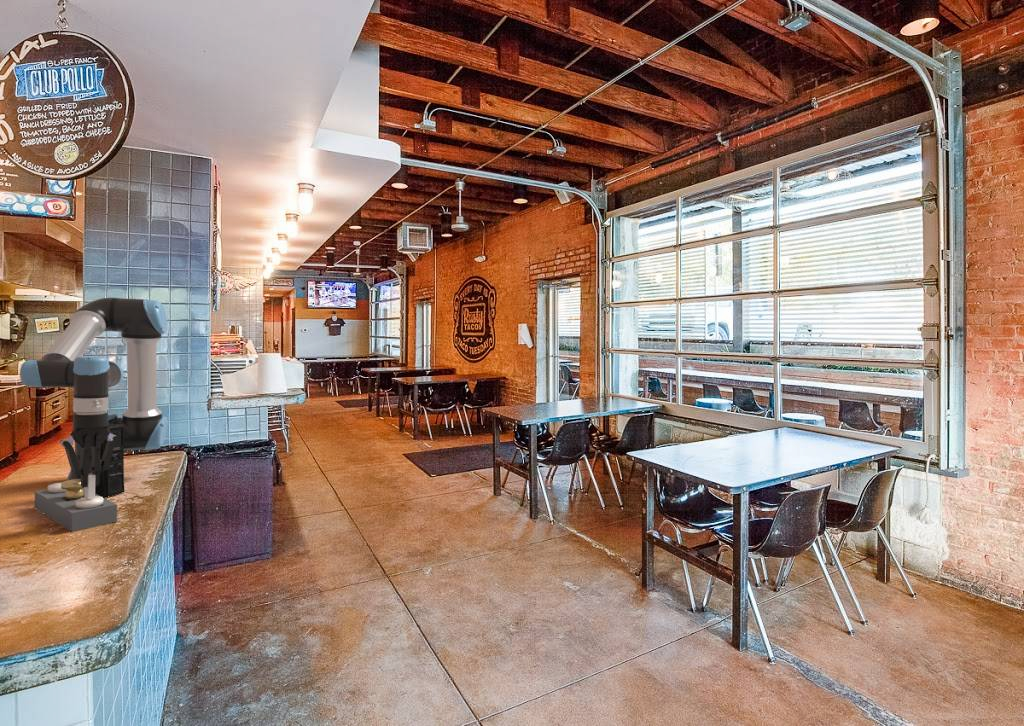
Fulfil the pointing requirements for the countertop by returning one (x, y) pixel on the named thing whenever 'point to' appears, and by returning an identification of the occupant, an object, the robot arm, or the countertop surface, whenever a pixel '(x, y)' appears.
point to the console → (74, 511)
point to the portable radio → (113, 465)
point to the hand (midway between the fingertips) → (89, 497)
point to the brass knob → (73, 489)
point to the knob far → (89, 502)
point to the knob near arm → (55, 488)
